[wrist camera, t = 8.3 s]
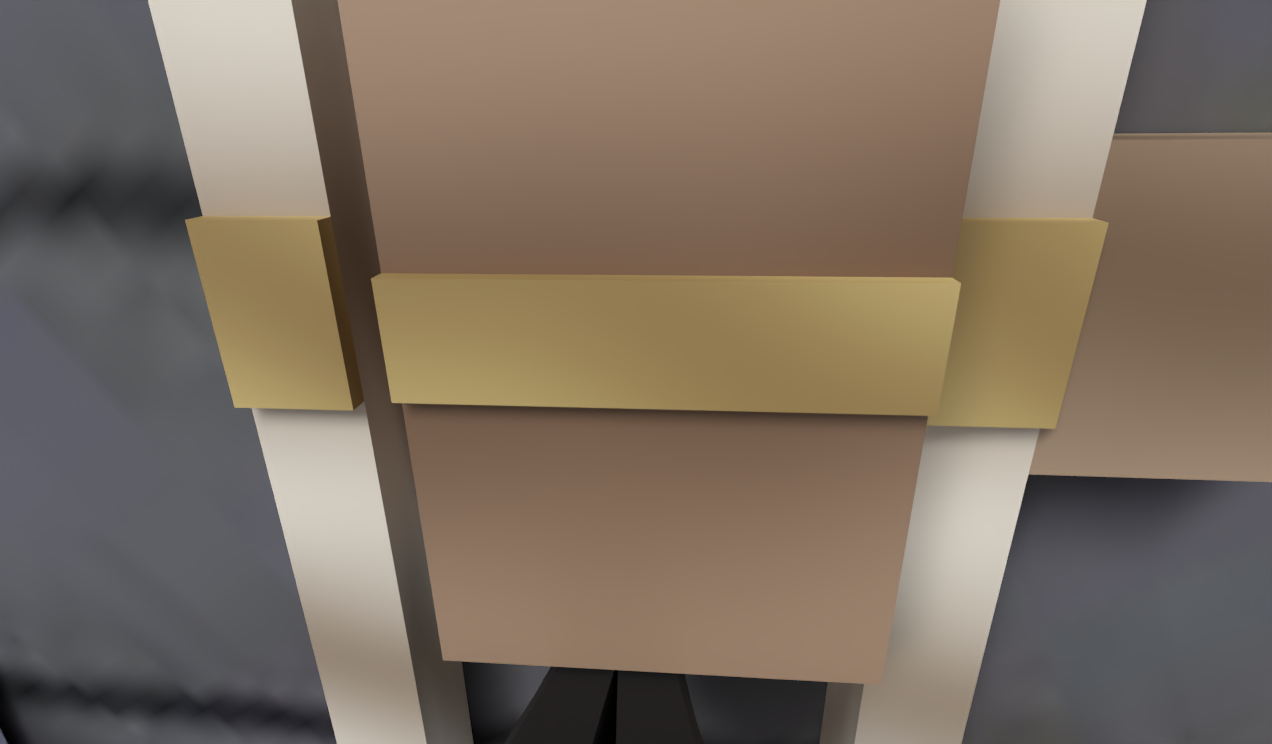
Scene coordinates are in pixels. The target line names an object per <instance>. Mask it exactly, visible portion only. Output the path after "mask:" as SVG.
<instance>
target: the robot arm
mask: <svg viewBox="0 0 1272 744" xmlns="http://www.w3.org/2000/svg"><path fill="white" fill-rule="evenodd" d="M0 744H8V742H7V741H6V739H5V737H4V735H3V733H2V731H1V729H0ZM504 744H703V740H702V737H701V734H700V731H699V728H698V725H697V721H696V718H695V714H694V711H693V707H692V704H691V700H690V696H689V691H688V687H687V683H686V679H685V675H684V674H678V673H660V672H642V671H624V670H606V669H589V668H571V667H553V666H551V668H550V670H549V671H548V673H547V675H546V676H545V678H544V680H543V682H542V683H541V685H540V687H539V689H538V690H537V692H536V694H535V695H534V697H533V699H532V700H531V702H530V703H529V705H528V706H527V708H526V710H525V711H524V713H523V714H522V716H521V718H520V719H519V721H518V722H517V724H516V725H515V727H514V729H513V730H512V732H511V733H510V735H509V737H508V738H507V740H506V741H505V743H504Z"/></svg>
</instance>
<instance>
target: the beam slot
mask: <svg viewBox="0 0 1272 744" xmlns="http://www.w3.org/2000/svg"><path fill="white" fill-rule="evenodd" d="M1146 1H1147V0H1000V5H999V10H998V16H997V22H996V28H995V34H994V39H993V45H992V51H991V57H990V62H989V68H988V74H987V80H986V85H985V91H984V97H983V103H982V108H981V114H980V120H979V126H978V131H977V137H976V143H975V149H974V155H973V160H972V166H971V172H970V178H969V183H968V189H967V195H966V201H965V206H964V212H963V218H962V224H961V229H960V235H959V241H958V247H957V252H956V258H955V264H954V270H953V276H952V278H953V279H955V280H957V281H958V282H960V283H961V288H960V293H959V299H958V304H957V310H956V315H955V321H954V327H953V332H952V338H951V343H950V349H949V354H948V360H947V366H946V371H945V377H944V382H943V388H942V393H941V399H940V405H939V410H938V416H928V420H927V425H926V431H925V437H924V443H923V448H922V454H921V460H920V466H919V471H918V477H917V483H916V489H915V495H914V500H913V506H912V512H911V518H910V523H909V529H908V535H907V541H906V546H905V552H904V558H903V564H902V569H901V575H900V581H899V587H898V592H897V598H896V604H895V610H894V616H893V621H892V627H891V633H890V639H889V644H888V650H887V656H886V662H885V667H884V673H883V679H882V685H875V684H857V683H840V682H828V683H827V690H826V698H825V705H824V713H823V720H822V727H821V735H820V742H819V744H961V743H962V739H963V735H964V731H965V727H966V723H967V719H968V715H969V711H970V707H971V703H972V699H973V695H974V691H975V687H976V683H977V679H978V675H979V671H980V667H981V663H982V659H983V655H984V651H985V647H986V643H987V639H988V635H989V631H990V627H991V623H992V619H993V614H994V610H995V606H996V602H997V598H998V594H999V590H1000V586H1001V582H1002V578H1003V574H1004V570H1005V566H1006V562H1007V558H1008V554H1009V550H1010V546H1011V542H1012V538H1013V534H1014V530H1015V526H1016V522H1017V518H1018V514H1019V510H1020V506H1021V502H1022V498H1023V494H1024V490H1025V486H1026V482H1027V478H1028V474H1030V475H1062V476H1094V477H1126V478H1159V479H1191V480H1223V481H1255V482H1272V133H1137V134H1114V130H1115V126H1116V122H1117V118H1118V114H1119V110H1120V106H1121V102H1122V98H1123V94H1124V90H1125V86H1126V82H1127V78H1128V73H1129V69H1130V65H1131V61H1132V57H1133V53H1134V49H1135V45H1136V41H1137V37H1138V33H1139V29H1140V25H1141V21H1142V17H1143V13H1144V9H1145V5H1146ZM148 2H149V6H150V10H151V14H152V18H153V22H154V26H155V30H156V34H157V38H158V42H159V45H160V49H161V53H162V57H163V61H164V65H165V69H166V73H167V77H168V81H169V85H170V89H171V93H172V97H173V100H174V104H175V108H176V112H177V116H178V120H179V124H180V128H181V132H182V136H183V140H184V144H185V148H186V152H187V155H188V159H189V163H190V167H191V171H192V175H193V179H194V183H195V187H196V191H197V195H198V199H199V203H200V207H201V210H202V214H203V216H202V217H197V218H192V219H188V220H185V222H186V226H187V230H188V233H189V237H190V241H191V245H192V249H193V252H194V256H195V260H196V264H197V267H198V271H199V275H200V279H201V282H202V286H203V290H204V294H205V298H206V301H207V305H208V309H209V313H210V316H211V320H212V324H213V328H214V331H215V335H216V339H217V343H218V347H219V350H220V354H221V358H222V362H223V365H224V369H225V373H226V377H227V380H228V384H229V388H230V392H231V396H232V399H233V403H234V407H235V408H252V411H253V415H254V419H255V423H256V427H257V431H258V434H259V438H260V442H261V446H262V450H263V454H264V458H265V462H266V466H267V470H268V474H269V478H270V482H271V486H272V489H273V493H274V497H275V501H276V505H277V509H278V513H279V517H280V521H281V525H282V529H283V533H284V537H285V541H286V544H287V548H288V552H289V556H290V560H291V564H292V568H293V572H294V576H295V580H296V584H297V588H298V592H299V596H300V599H301V603H302V607H303V611H304V615H305V619H306V623H307V627H308V631H309V635H310V639H311V643H312V647H313V651H314V655H315V658H316V662H317V666H318V670H319V674H320V678H321V682H322V686H323V690H324V694H325V698H326V702H327V706H328V710H329V713H330V717H331V721H332V725H333V729H334V733H335V737H336V741H337V744H474V743H473V736H472V729H471V722H470V715H469V709H468V702H467V695H466V688H465V681H464V674H463V667H462V661H445V660H443V657H442V651H441V645H440V639H439V632H438V626H437V620H436V614H435V607H434V601H433V595H432V589H431V582H430V576H429V570H428V564H427V557H426V551H425V545H424V539H423V532H422V526H421V520H420V514H419V507H418V501H417V495H416V489H415V482H414V476H413V470H412V464H411V457H410V451H409V445H408V438H407V432H406V426H405V420H404V413H403V407H402V403H392V402H391V396H390V390H389V384H388V378H387V372H386V366H385V360H384V354H383V348H382V342H381V336H380V330H379V324H378V318H377V312H376V306H375V300H374V294H373V288H372V282H371V278H373V277H375V276H377V275H379V274H381V270H380V263H379V257H378V251H377V245H376V238H375V232H374V226H373V220H372V213H371V207H370V201H369V194H368V188H367V182H366V176H365V169H364V163H363V157H362V151H361V144H360V138H359V132H358V126H357V119H356V113H355V107H354V101H353V94H352V88H351V82H350V76H349V69H348V63H347V57H346V51H345V44H344V38H343V32H342V26H341V19H340V13H339V7H338V1H337V0H148Z"/></svg>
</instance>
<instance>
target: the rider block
mask: <svg viewBox="0 0 1272 744" xmlns="http://www.w3.org/2000/svg"><path fill="white" fill-rule="evenodd" d="M337 1H338V7H339V13H340V19H341V26H342V32H343V38H344V44H345V51H346V57H347V63H348V69H349V76H350V82H351V88H352V94H353V101H354V107H355V113H356V119H357V126H358V132H359V138H360V144H361V151H362V157H363V163H364V169H365V176H366V182H367V188H368V194H369V201H370V207H371V213H372V220H373V226H374V232H375V238H376V245H377V251H378V257H379V263H380V270H381V274H379V275H377V276H375V277H373V278H371V282H372V288H373V294H374V300H375V306H376V312H377V318H378V324H379V330H380V336H381V342H382V348H383V354H384V360H385V366H386V372H387V378H388V384H389V390H390V396H391V402H392V403H402V407H403V413H404V420H405V426H406V432H407V438H408V445H409V451H410V457H411V464H412V470H413V476H414V482H415V489H416V495H417V501H418V507H419V514H420V520H421V526H422V532H423V539H424V545H425V551H426V557H427V564H428V570H429V576H430V582H431V589H432V595H433V601H434V607H435V614H436V620H437V626H438V632H439V639H440V645H441V651H442V657H443V660H445V661H463V662H481V663H499V664H517V665H535V666H553V667H571V668H589V669H606V670H624V671H642V672H660V673H678V674H696V675H714V676H732V677H750V678H768V679H786V680H804V681H822V682H840V683H857V684H875V685H882V679H883V673H884V667H885V662H886V656H887V650H888V644H889V639H890V633H891V627H892V621H893V616H894V610H895V604H896V598H897V592H898V587H899V581H900V575H901V569H902V564H903V558H904V552H905V546H906V541H907V535H908V529H909V523H910V518H911V512H912V506H913V500H914V495H915V489H916V483H917V477H918V471H919V466H920V460H921V454H922V448H923V443H924V437H925V431H926V425H927V420H928V416H938V410H939V405H940V399H941V393H942V388H943V382H944V377H945V371H946V366H947V360H948V354H949V349H950V343H951V338H952V332H953V327H954V321H955V315H956V310H957V304H958V299H959V293H960V288H961V283H960V282H958V281H957V280H955V279H953V278H952V276H953V270H954V264H955V258H956V252H957V247H958V241H959V235H960V229H961V224H962V218H963V212H964V206H965V201H966V195H967V189H968V183H969V178H970V172H971V166H972V160H973V155H974V149H975V143H976V137H977V131H978V126H979V120H980V114H981V108H982V103H983V97H984V91H985V85H986V80H987V74H988V68H989V62H990V57H991V51H992V45H993V39H994V34H995V28H996V22H997V16H998V10H999V5H1000V0H337Z"/></svg>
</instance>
